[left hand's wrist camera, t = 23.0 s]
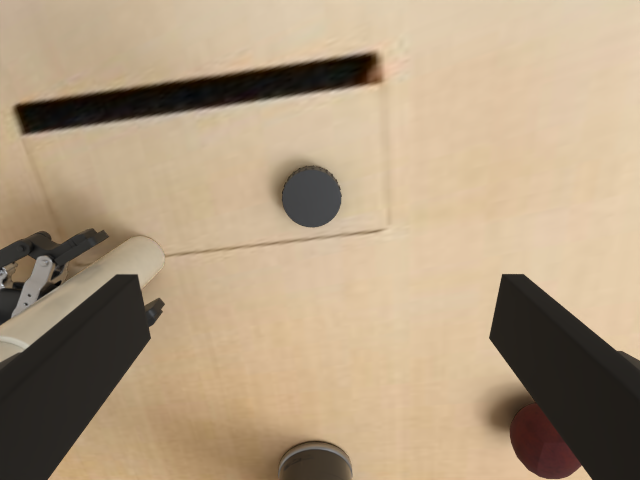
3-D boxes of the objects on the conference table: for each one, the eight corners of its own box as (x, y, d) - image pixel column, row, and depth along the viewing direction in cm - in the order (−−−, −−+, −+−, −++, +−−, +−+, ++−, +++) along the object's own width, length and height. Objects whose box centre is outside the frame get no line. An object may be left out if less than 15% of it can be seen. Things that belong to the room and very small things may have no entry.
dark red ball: (495, 439, 44) (527, 497, 38) (501, 391, 42) (537, 443, 35) (554, 435, 44) (596, 492, 38) (564, 386, 42) (611, 438, 35)
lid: (342, 166, 33) (344, 170, 31) (338, 222, 35) (339, 229, 33) (284, 163, 33) (282, 167, 31) (282, 220, 34) (280, 226, 32)
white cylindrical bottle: (150, 283, 36) (0, 438, 19) (112, 258, 35) (-82, 397, 18) (173, 254, 35) (37, 390, 18) (135, 227, 34) (-47, 343, 17)
